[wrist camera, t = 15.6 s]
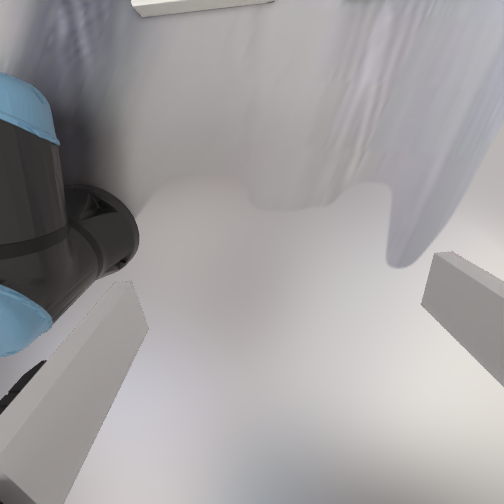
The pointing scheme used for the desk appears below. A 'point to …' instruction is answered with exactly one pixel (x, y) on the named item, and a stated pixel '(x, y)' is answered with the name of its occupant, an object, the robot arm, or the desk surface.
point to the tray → (185, 5)
